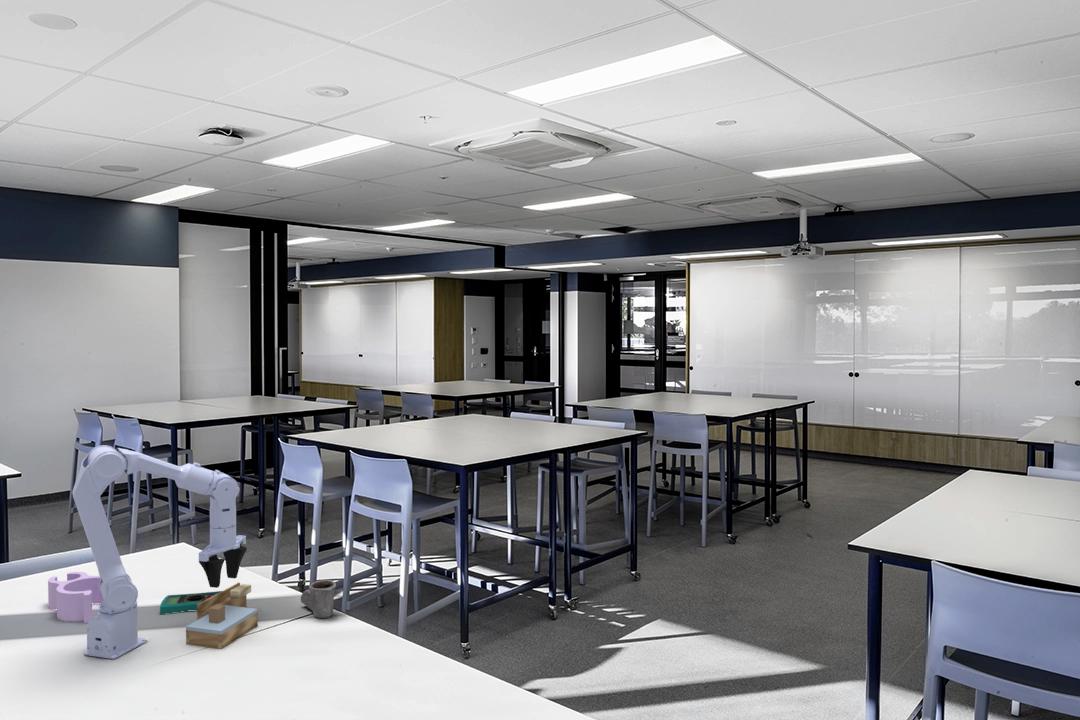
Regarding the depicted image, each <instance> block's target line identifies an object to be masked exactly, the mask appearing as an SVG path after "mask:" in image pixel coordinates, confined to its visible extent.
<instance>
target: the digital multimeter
mask: <svg viewBox="0 0 1080 720" xmlns="http://www.w3.org/2000/svg"><path fill="white" fill-rule="evenodd" d="M222 591H223V590H218V591H217V590H216V591H208V592H197V593H185V594H183V593H182V594H179V593H178V594H168V595H166V596H165V597H164V598H163V600H162V601H161V603H160V605H159V614H160V615H166V614H165V613H171V614H173V613H172V612H180V613H182V612H181V611H188V610H197V604H199V603H201V602H203V601H205V600H206V599H208V598H210V597H212V596H214V595H216V594H218V593H220V592H222Z"/></svg>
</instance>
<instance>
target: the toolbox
mask: <svg viewBox="0 0 1080 720" xmlns="http://www.w3.org/2000/svg"><path fill="white" fill-rule="evenodd" d="M240 585H241V582H236V583H235V584H233V585H231V586H229V587H227V588H226V589H223V590H221V591H222V592H220V593H218V594H216V595H214V596H212V597H210V598H208V599H206V600H205V601H203V602H201V603H199V604H197V611H196V621H197V620H198V619H200V618H202V617H204V616H206V615H207V614H209V608H210V607H212V606H214V605H216V604H217V605H229V606H237V607H246V608H248V607H247V602H248V601H247V595H245V596H243V597H241V598H240V599H233V598H230V590H232V589H234V588H236V587H238V586H240ZM258 616H259V615H258V612H257V613H255V614H254V615H252V616H251V617H249V618H247V619H246V620H244V621H243V622H241V623H239V624H238V625H236V626H234V627H233V628H231V629H230V630H228V631H226V632H225V633H223V634H221V635H220V634H213V633H205V632H197V631H189V630H186V629H185V644H186V645H188V646H196V647H204V648H212V649H217V650H218V649H220V650H222V649H223V648H225V647H227V646H228V645H230V644H232V643H233V642H234V641H236V640H238V639H239V638H241V637H242V636H244V635H245V634H247V633H249V632H250V631H251V630H253V629H255V628H256V627H257V626H258V623H259V622H258Z"/></svg>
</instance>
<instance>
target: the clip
mask: <svg viewBox="0 0 1080 720" xmlns="http://www.w3.org/2000/svg"><path fill="white" fill-rule="evenodd" d="M99 585H100V575H90V574H88V573H86V572H83V571H69V572H66V580H62V581H61V580H58V576H57V575H55V576H54V575H53V576H50V577H49V578H48V579H47V586H48V587H47V589H48V590H47V592H48V596H47V597H48V604H47V605H48V609H49V608H51V609H50V610H52V609H57V610H56V618H57V617H58V618H59V619H61V620H60V621H62V620H64V621H63V622H68V621H77V622H83V623H84V624H88V623H89V621H90V620H91V619H92V618H93V604H92V603H102V602H103V600H104V598H103V596H102V595H101V594H100V591H99ZM58 618H57V619H58ZM59 619H58V620H59Z"/></svg>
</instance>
